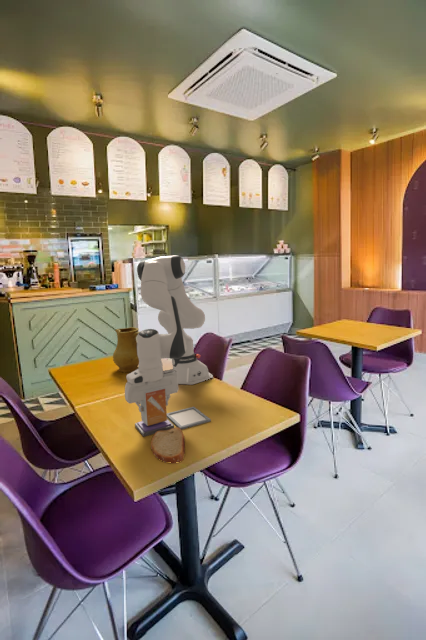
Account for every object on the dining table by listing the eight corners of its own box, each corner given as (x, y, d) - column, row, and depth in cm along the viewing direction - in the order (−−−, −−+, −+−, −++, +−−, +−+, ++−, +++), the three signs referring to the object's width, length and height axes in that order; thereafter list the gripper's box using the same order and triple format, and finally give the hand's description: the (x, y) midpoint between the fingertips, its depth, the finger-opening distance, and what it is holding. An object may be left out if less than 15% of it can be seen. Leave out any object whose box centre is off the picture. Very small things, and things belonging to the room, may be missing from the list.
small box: (147, 426, 131) (145, 393, 129) (141, 420, 136) (138, 388, 134) (167, 420, 135) (165, 388, 133) (160, 415, 140) (158, 383, 138)
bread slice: (176, 467, 109) (175, 455, 108) (133, 452, 118) (132, 442, 118) (207, 441, 124) (207, 431, 123) (167, 430, 133) (167, 420, 133)
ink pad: (164, 418, 142) (163, 414, 142) (174, 428, 134) (173, 424, 134) (135, 426, 137) (134, 422, 136) (143, 436, 128) (143, 432, 128)
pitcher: (133, 362, 225) (131, 324, 220) (150, 369, 212) (147, 329, 206) (108, 369, 214) (105, 329, 208) (124, 377, 200) (120, 334, 195)
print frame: (193, 408, 152) (193, 406, 151) (210, 421, 139) (210, 419, 139) (165, 415, 145) (165, 413, 145) (180, 429, 132) (180, 427, 132)
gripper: (173, 366, 140) (175, 399, 142) (121, 376, 130) (125, 411, 132) (180, 370, 134) (182, 404, 137) (126, 381, 125) (130, 418, 127)
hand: (153, 408), depth 134 cm, fingers closed on small box, 8 cm apart
